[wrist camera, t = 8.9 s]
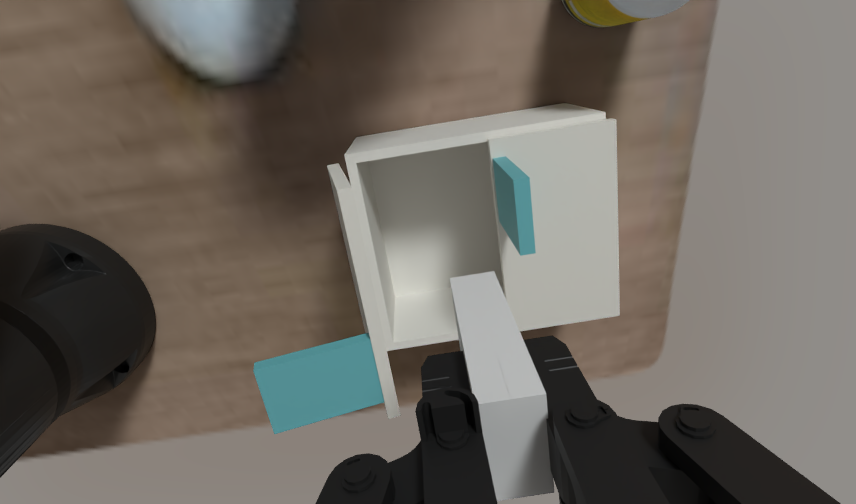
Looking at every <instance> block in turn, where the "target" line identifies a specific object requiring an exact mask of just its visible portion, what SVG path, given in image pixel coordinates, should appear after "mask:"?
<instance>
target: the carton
mask: <svg viewBox="0 0 856 504" xmlns="http://www.w3.org/2000/svg"><path fill="white" fill-rule="evenodd" d="M604 119H606V112H603V111H599V110H594V109H590V108H586V107H581V106H577V105H573V104H568V103H561V104H555V105H549V106H543V107H536V108H530V109H524V110H518V111H512V112H506V113H500V114H494V115H488V116H482V117H476V118H470V119H463V120H457V121H451V122H445V123H439V124H433V125H427V126H421V127H415V128H409V129H403V130H397V131H390V132H384V133H378V134H372V135H366V136H360V137H356V138H355V140H354V141H353V143H352V144H351V146H350V147H349V149H348V150H347V152H346V153H345V155H344V156H345V161H346V165H347V170H348V175H349V179H350V184H351V187H352V191H353V196H354V200H355V205H356V210H357V214H358V219H359V223H360V228H361V233H362V237H363V242H364V247H365V251H366V256H367V261H368V265H369V270H370V275H371V279H372V284H373V289H374V293H375V298H376V303H377V307H378V312H379V317H380V321H381V326H382V331H383V335H384V340H385V345H386V349H387V351H391V350H397V349H403V348H410V347H416V346H422V345H428V344H435V343H441V342H447V341H454V340H459V338H458V331H457V325H456V318H455V311H454V305H453V298H452V291H451V285H450V278H453V277H460V276H466V275H472V274H479V273H485V272H492V271H494V272H495V274H496V277H497V279H498V281H499V284H500V286H501V288H502V291H503V293H504V288H503V279H502V270H501V261H500V251H499V242H498V233H497V224H496V215H495V206H494V197H493V188H492V179H491V170H490V161H489V152H488V143H487V139H488V138H494V137H500V136H507V135H513V134H519V133H525V132H531V131H537V130H543V129H549V128H555V127H562V126H568V125H574V124H580V123H586V122H592V121H598V120H604Z"/></svg>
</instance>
